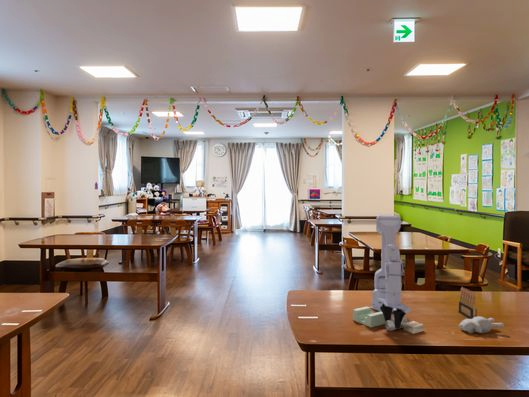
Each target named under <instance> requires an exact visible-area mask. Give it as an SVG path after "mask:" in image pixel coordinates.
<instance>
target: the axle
mask: <svg viewBox="0 0 529 397" xmlns="http://www.w3.org/2000/svg"><path fill="white" fill-rule="evenodd" d="M408 322H409V320H408V318H407V317H406V316H404V317H403V319H402V322H401V326H400V328H397V329H396V328H395V319H391V320H387V321H386V322H385V324H384V327H385V329H386V331H388V332H392V331H395V330H398V329H399V330H400V329H402V328H403V329H404V324H405V323H408Z"/></svg>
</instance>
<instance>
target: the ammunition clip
mask: <svg viewBox="0 0 529 397" xmlns="http://www.w3.org/2000/svg"><path fill="white" fill-rule="evenodd" d="M459 294H460V295H459V301H458V314H460V315H462V316H463V317H465V318H466V319H473V318H474V317H478V316H477V314H478V313H477V310H478V309H477V307H476V306H477V300H476V293H475V291H472V290H471V291H470V289H468V288H466V287H463V286H461V288H460V293H459Z"/></svg>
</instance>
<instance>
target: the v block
mask: <svg viewBox="0 0 529 397" xmlns="http://www.w3.org/2000/svg"><path fill="white" fill-rule="evenodd" d="M371 310H372V308H371V306H363V307H358V308H354V309H352V311H353V312H352V321H354V322H357V323H358V324H359V323H360V324H362V325H364V326H367V327H369V328H374V327H378V326H382V325H385V319H384V315H383V313H382V312H380V311H377V312H373V311H371Z"/></svg>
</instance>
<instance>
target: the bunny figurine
mask: <svg viewBox="0 0 529 397" xmlns="http://www.w3.org/2000/svg"><path fill="white" fill-rule="evenodd" d="M458 327H459V328H460V329H461V330H463V331H464V332H467V333H469V334H474V333H478V334H485V333H489V332H491V330H492V329H493V327H494V328H501V329H502V328H505V324H504V323H503V322H495V318H493V317H489V318H485V317H484V316H479V315H478V316H477V317H474V318H473V319H469V318H465V319H463V320H462V321H461V322H460V323H459V324H458Z"/></svg>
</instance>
